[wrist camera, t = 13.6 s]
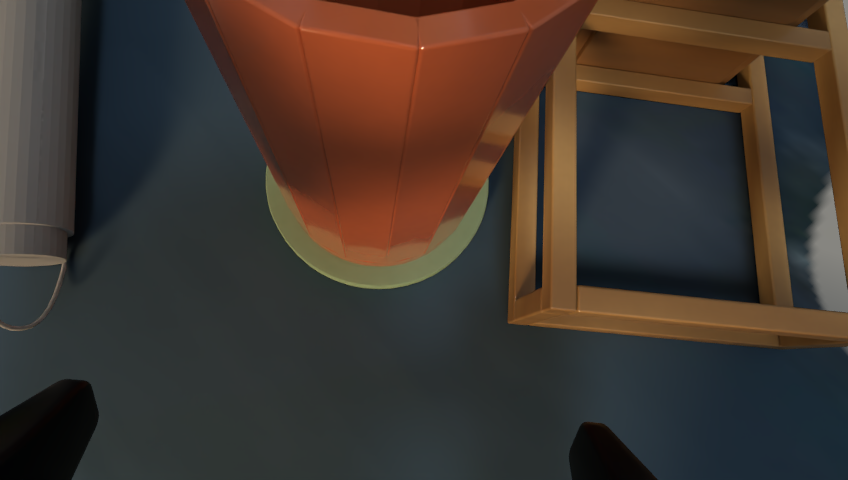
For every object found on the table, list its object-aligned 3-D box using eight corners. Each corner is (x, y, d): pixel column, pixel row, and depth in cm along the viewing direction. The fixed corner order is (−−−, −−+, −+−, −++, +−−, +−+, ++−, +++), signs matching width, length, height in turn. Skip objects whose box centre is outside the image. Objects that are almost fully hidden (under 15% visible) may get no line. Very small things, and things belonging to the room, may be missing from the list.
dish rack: (782, 349, 19) (1370, 322, 8) (507, 323, 18) (729, 250, 7) (747, 34, 23) (1108, -286, 12) (518, -1, 22) (674, -384, 11)
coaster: (512, 259, 19) (516, 255, 18) (293, 314, 17) (290, 312, 17) (452, 71, 21) (454, 62, 20) (249, 107, 19) (246, 98, 19)
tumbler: (492, 241, 18) (732, -6, 6) (308, 288, 17) (162, 94, 5) (441, 81, 20) (553, -368, 8) (269, 114, 19) (84, -356, 7)
